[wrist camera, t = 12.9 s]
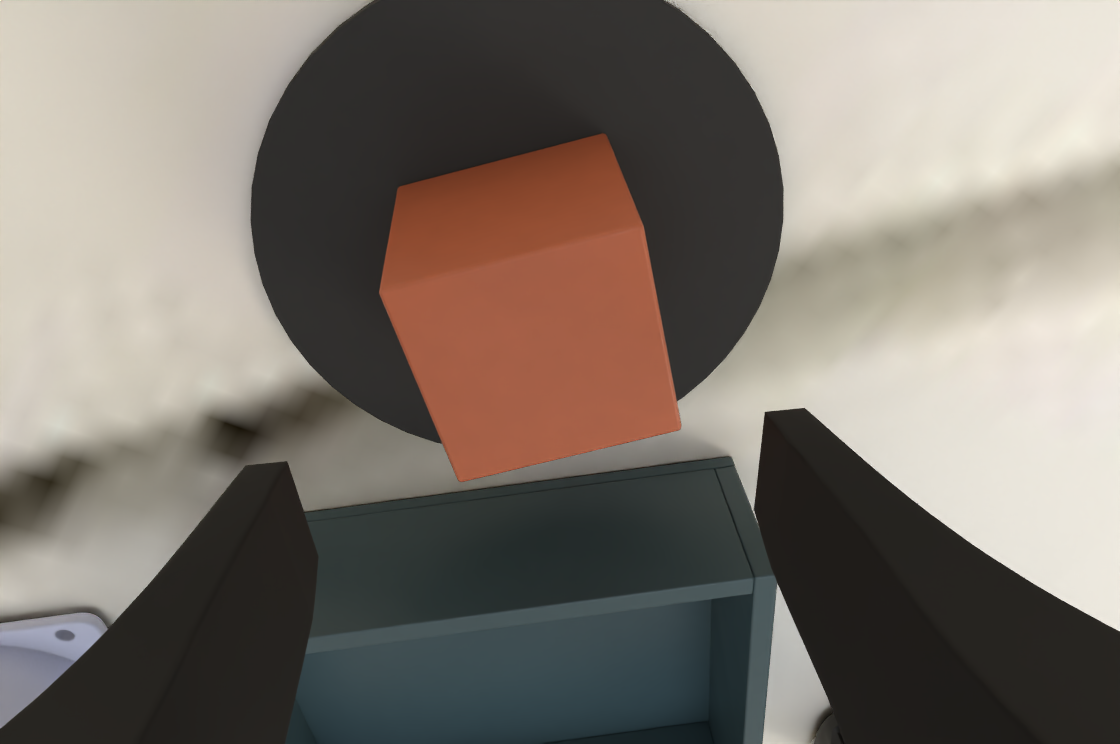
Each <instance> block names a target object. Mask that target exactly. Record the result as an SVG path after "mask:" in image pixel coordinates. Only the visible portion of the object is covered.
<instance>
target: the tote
mask: <svg viewBox="0 0 1120 744" xmlns="http://www.w3.org/2000/svg"><path fill="white" fill-rule="evenodd" d="M304 514H305V517H306V520H307V523H308V526H309V529H310V532H311V535H312V538H313V541H314V544H315V547H316V550H317V553H318V556H319V558H318V570H317V582H316V594H315V603H314V613H313V621H312V625H311V630H310V635H309V639H308V644H307V648H306V653H305V658H304V662H303V667H302V671H301V675H300V680H299V684H298V689H297V693H296V697H295V702H294V706H293V710H292V715H291V719H290V724H289V728H288V732H287V737H286V741H285V744H762V740H763V730H764V719H765V708H766V697H767V686H768V676H769V665H770V654H771V643H772V632H773V622H774V611H775V600H776V589H777V581H776V578H775V576H774V573H773V571H772V569H771V566H770V562H769V559H768V556H767V552H766V549H765V546H764V543H763V539H762V536H761V532H760V528H759V526H758V523H757V521H756V518H755V516H754V513H753V511H752V508H751V506H750V503H749V501H748V498H747V496H746V493H745V491H744V488H743V486H742V483H741V481H740V478H739V476H738V473H737V470H736V468H735V465H734V462H733V460H732V458H731V457H724V458H717V459H709V460H701V461H694V462H686V463H679V464H671V465H663V466H656V467H648V468H641V469H633V470H625V471H618V472H610V473H602V474H595V475H587V476H580V477H572V478H564V479H557V480H549V481H542V482H534V483H526V484H519V485H511V486H504V487H496V488H488V489H481V490H473V491H466V492H458V493H450V494H443V495H435V496H428V497H420V498H412V499H405V500H397V501H390V502H382V503H374V504H367V505H359V506H352V507H344V508H336V509H329V510H321V511H314V512H306V513H304Z"/></svg>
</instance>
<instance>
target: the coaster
mask: <svg viewBox="0 0 1120 744" xmlns="http://www.w3.org/2000/svg"><path fill="white" fill-rule="evenodd" d="M602 133H603V134H606V136H607V137H608V140H609V142H610V145H611V147H612V150H613V152H614V155H615V157H616V160H617V162H618V164H619V167H620V169H621V172H622V174H623V177H624V179H625V182H626V184H627V187H628V189H629V192H630V194H631V196H632V199H633V201H634V204H635V206H636V209H637V211H638V214H639V216H640V219H641V221H642V224H643V226H644V231H645V236H646V241H647V247H648V252H649V257H650V262H651V268H652V273H653V278H654V284H655V289H656V294H657V299H658V305H659V310H660V315H661V320H662V326H663V331H664V336H665V342H666V347H667V352H668V357H669V363H670V368H671V373H672V378H673V384H674V389H675V394H676V400H677V401H678V400H680V399H681V398H683V397H684V396H685V395H686V394H688V393H689V392H690V391H691V390H692V389H694V388H695V387H696V386H697V385H698V384H700V383H701V382H702V381H703V380H704V379H706V378H707V376H708V375H709V374H710V373H711V372H712V371H713V370H714V369H715V368H716V367H717V366H718V365H719V364H720V363H721V362H722V361H723V360H724V359H725V358H726V356H727V355H728V354H729V353H730V351H731V350H732V349H733V347H734V346H735V345H736V343H737V342H738V341H739V339H740V338H741V337H742V335H743V334H744V332H745V331H746V329H747V327H748V326H749V324H750V322H751V320H752V319H753V317H754V315H755V314H756V312H757V310H758V308H759V306H760V304H761V302H762V299H763V297H764V295H765V292H766V290H767V287H768V285H769V283H770V280H771V277H772V273H773V270H774V266H775V263H776V259H777V256H778V252H779V246H780V239H781V232H782V225H783V182H782V175H781V168H780V161H779V155H778V152H777V148H776V145H775V142H774V138H773V135H772V131H771V128H770V125H769V122H768V120H767V118H766V116H765V114H764V112H763V109H762V107H761V105H760V103H759V101H758V99H757V96H756V94H755V92H754V91H753V89H752V88H751V86H750V85H749V83H748V82H747V80H746V79H745V77H744V76H743V74H742V73H741V71H740V70H739V68H738V67H737V65H736V64H735V62H734V61H733V60H732V59H731V58H730V57H729V56H728V55H727V54H726V52H725V51H724V50H723V49H722V48H721V47H720V46H719V45H718V44H717V43H716V41H715V40H714V39H713V38H712V37H711V36H710V35H709V34H708V33H707V32H706V31H705V30H703V29H702V28H701V27H700V26H699V25H697V24H696V23H695V22H694V21H692V20H691V19H690V18H689V17H688V16H686V15H685V14H684V13H683V12H682V11H680V10H679V9H678V8H676V7H674V6H673V5H671V4H669V3H668V2H666V1H664V0H374V1H372V2H371V3H369V4H368V5H367V6H365V7H364V8H363V9H361V10H360V11H359V12H357V13H356V14H354V15H353V16H352V17H350V18H349V19H348V20H346V21H345V22H343V23H342V24H341V25H339V26H338V27H337V28H336V29H335V30H334V31H333V32H332V33H331V34H330V35H329V36H328V37H327V38H326V39H325V40H324V41H323V42H322V43H321V44H320V45H319V46H318V47H317V48H316V49H315V50H314V51H313V52H312V53H311V55H310V56H309V57H308V59H307V60H306V61H305V63H304V64H303V65H302V67H301V68H300V69H299V71H298V72H297V74H296V75H295V76H294V78H293V79H292V80H291V82H290V83H289V85H288V86H287V88H286V90H285V92H284V94H283V96H282V97H281V99H280V101H279V103H278V105H277V107H276V109H275V111H274V113H273V114H272V116H271V118H270V120H269V123H268V126H267V129H266V132H265V135H264V138H263V141H262V143H261V146H260V149H259V152H258V156H257V162H256V167H255V173H254V178H253V184H252V197H251V228H252V236H253V244H254V253H255V257H256V261H257V265H258V268H259V272H260V276H261V280H262V283H263V286H264V289H265V291H266V293H267V296H268V298H269V300H270V303H271V305H272V307H273V310H274V312H275V314H276V316H277V318H278V319H279V321H280V323H281V324H282V326H283V328H284V330H285V331H286V333H287V335H288V336H289V338H290V340H291V341H292V343H293V344H294V345H295V346H296V348H297V349H298V350H299V351H300V353H301V354H302V355H303V357H304V358H305V359H306V360H307V362H308V363H309V364H310V365H311V366H312V367H313V368H314V369H315V370H316V371H317V372H318V373H319V374H320V375H321V376H322V377H323V378H324V379H325V380H326V381H327V382H328V383H329V384H330V385H331V386H332V387H333V388H334V389H336V390H337V391H338V392H340V393H341V394H342V395H343V396H345V397H346V398H347V399H349V400H350V401H351V402H352V403H354V404H355V405H357V406H358V407H360V408H361V409H363V410H365V411H366V412H368V413H370V414H371V415H373V416H375V417H376V418H378V419H380V420H381V421H384V422H386V423H388V424H390V425H392V426H394V427H396V428H399V429H401V430H403V431H405V432H407V433H410V434H413V435H416V436H419V437H422V438H425V439H428V440H431V441H434V442H437V443H441V444H442V441H441V439H440V436H439V434H438V432H437V429H436V427H435V425H434V422H433V420H432V418H431V415H430V413H429V410H428V408H427V406H426V403H425V401H424V399H423V396H422V394H421V391H420V389H419V387H418V384H417V382H416V380H415V377H414V375H413V372H412V370H411V368H410V365H409V363H408V361H407V358H406V356H405V353H404V351H403V349H402V346H401V344H400V342H399V339H398V337H397V334H396V332H395V330H394V327H393V325H392V323H391V320H390V318H389V315H388V313H387V311H386V308H385V306H384V304H383V301H382V299H381V296H380V294H379V290H380V284H381V279H382V273H383V267H384V262H385V256H386V251H387V245H388V240H389V234H390V228H391V223H392V217H393V212H394V206H395V201H396V195H397V189H398V188H399V187H400V186H403V185H407V184H411V183H415V182H419V181H422V180H426V179H430V178H434V177H438V176H441V175H445V174H449V173H453V172H457V171H461V170H464V169H468V168H472V167H476V166H480V165H484V164H487V163H491V162H495V161H499V160H503V159H506V158H510V157H514V156H518V155H522V154H526V153H529V152H533V151H537V150H541V149H545V148H549V147H552V146H556V145H560V144H564V143H568V142H571V141H575V140H579V139H583V138H587V137H591V136H594V135H598V134H602Z"/></svg>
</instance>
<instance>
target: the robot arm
mask: <svg viewBox="0 0 1120 744" xmlns="http://www.w3.org/2000/svg"><path fill="white" fill-rule="evenodd" d="M754 511H755V514H756V518H757V521H758V525H759V528H760V532H761V536H762V539H763V543H764V546H765V549H766V552H767V556H768V559H769V562H770V566H771V569H772V571H773V573H774V576H775V578H776V581H777V583H778V585H779V588H780V590H781V592H782V595H783V597H784V599H785V601H786V604H787V606H788V608H789V611H790V613H791V615H792V618H793V620H794V622H795V624H796V627H797V629H798V631H799V634H800V636H801V638H802V640H803V643H804V645H805V647H806V649H807V652H808V654H809V656H810V659H811V661H812V663H813V665H814V668H815V670H816V672H817V674H818V677H819V679H820V681H821V684H822V686H823V688H824V690H825V693H826V695H827V697H828V700H829V702H830V705H831V708H832V710H833V713H834V715H835V718H836V720H837V723H838V726H839V728H840V731H841V735H842V738H843V741H844V744H1120V631H1118V630H1116V629H1114V628H1112V627H1110V626H1108V625H1106V624H1104V623H1102V622H1101V621H1099V620H1097V619H1095V618H1093V617H1091V616H1090V615H1088V614H1086V613H1084V612H1082V611H1080V610H1079V609H1077V608H1075V607H1073V606H1071V605H1069V604H1067V603H1066V602H1064V601H1062V600H1060V599H1058V598H1057V597H1055V596H1053V595H1052V594H1050V593H1048V592H1046V591H1045V590H1043V589H1041V588H1040V587H1038V586H1036V585H1035V584H1033V583H1031V582H1030V581H1028V580H1026V579H1025V578H1023V577H1022V576H1020V575H1019V574H1017V573H1015V572H1014V571H1012V570H1011V569H1009V568H1008V567H1006V566H1004V565H1003V564H1001V563H1000V562H998V561H996V560H995V559H993V558H992V557H990V556H989V555H987V554H986V553H984V552H983V551H981V550H980V549H978V548H977V547H975V546H974V545H972V544H971V543H969V542H968V541H967V540H965V539H964V538H962V537H961V536H960V535H958V534H957V533H956V532H954V531H953V530H951V529H950V528H949V527H947V526H946V525H945V524H943V523H942V522H940V521H939V520H938V519H936V518H935V517H934V516H932V515H931V514H930V513H928V512H927V511H926V510H924V509H923V508H922V507H921V506H919V505H918V504H917V503H915V502H914V501H913V500H912V499H910V498H909V497H908V496H906V495H905V494H904V493H903V492H902V491H900V490H899V489H898V488H897V487H895V486H894V485H893V484H892V483H891V482H889V481H888V480H887V479H886V478H884V477H883V476H882V475H881V474H880V473H878V472H877V471H876V470H875V469H874V468H873V467H871V466H870V465H869V464H868V463H867V462H866V461H864V460H863V459H862V458H861V457H860V456H859V455H858V454H856V453H855V452H854V451H853V450H852V449H851V448H849V447H848V446H847V445H846V444H845V443H844V442H843V441H842V440H840V439H839V438H838V437H837V436H836V435H835V434H834V433H832V432H831V431H830V430H829V429H828V428H827V427H826V426H825V425H823V424H822V423H821V422H820V421H819V420H818V419H817V418H815V417H814V416H813V415H812V414H811V413H810V412H809V411H807V410H806V409H805V408H800V409H790V410H780V411H770V412H765V416H764V425H763V434H762V443H761V452H760V461H759V470H758V479H757V488H756V497H755V506H754ZM318 558H319V556H318V553H317V550H316V547H315V544H314V541H313V538H312V535H311V532H310V529H309V526H308V523H307V520H306V517H305V514H304V511H303V508H302V505H301V502H300V499H299V496H298V493H297V490H296V487H295V484H294V481H293V478H292V474H291V471H290V468H289V465H288V462H287V461H285V462H276V463H266V464H256V465H247V466H245V467H244V468H243V470H242V471H241V472H240V473H239V474H238V476H237V477H236V478H235V479H234V480H233V482H232V483H231V484H230V485H229V487H228V488H227V489H226V490H225V492H224V493H223V494H222V495H221V497H220V498H219V499H218V500H217V502H216V503H215V504H214V506H213V507H212V508H211V509H210V511H209V512H208V513H207V514H206V516H205V517H204V518H203V519H202V521H201V522H200V523H199V524H198V526H197V527H196V528H195V529H194V531H193V532H192V533H191V534H190V536H189V537H188V538H187V539H186V541H185V542H184V543H183V544H182V545H181V547H180V548H179V549H178V550H177V551H176V553H175V554H174V555H173V556H172V557H171V559H170V560H169V561H168V562H167V563H166V565H165V566H164V567H163V568H162V569H161V571H160V572H159V573H158V574H157V575H156V577H155V578H154V579H153V580H152V581H151V582H150V583H149V585H148V586H147V587H146V588H145V589H144V590H143V591H142V592H141V593H140V595H139V596H138V597H137V598H136V599H135V600H134V601H133V602H132V603H131V604H130V606H129V607H128V608H127V609H126V610H125V611H124V612H123V613H122V614H121V615H120V617H119V618H118V619H117V620H116V621H115V622H114V623H113V624H112V625H111V626H110V628H109V629H108V628H107V627H106V625H105V624H104V622H103V621H102V620H101V619H100V618H99V617H98V616H96V615H94V614H91V613H73V614H66V615H58V616H51V617H43V618H36V619H28V620H21V621H13V622H6V623H0V744H285V741H286V737H287V732H288V728H289V724H290V719H291V715H292V710H293V706H294V702H295V697H296V693H297V689H298V684H299V680H300V675H301V671H302V667H303V662H304V658H305V653H306V648H307V644H308V639H309V635H310V630H311V625H312V621H313V613H314V603H315V594H316V582H317V570H318Z"/></svg>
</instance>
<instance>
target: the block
mask: <svg viewBox="0 0 1120 744" xmlns="http://www.w3.org/2000/svg"><path fill="white" fill-rule="evenodd" d="M379 294H380V296H381V299H382V301H383V304H384V306H385V308H386V311H387V313H388V315H389V318H390V320H391V323H392V325H393V327H394V330H395V332H396V334H397V337H398V339H399V342H400V344H401V346H402V349H403V351H404V353H405V356H406V358H407V361H408V363H409V365H410V368H411V370H412V372H413V375H414V377H415V380H416V382H417V384H418V387H419V389H420V391H421V394H422V396H423V399H424V401H425V403H426V406H427V408H428V410H429V413H430V415H431V418H432V420H433V422H434V425H435V427H436V429H437V432H438V434H439V436H440V439H441V441H442V444H443V446H444V448H445V451H446V453H447V455H448V458H449V460H450V463H451V465H452V467H453V470H454V472H455V474H456V477H457V479H458V481H460V482H464V481H468V480H472V479H477V478H481V477H485V476H489V475H493V474H498V473H502V472H506V471H510V470H514V469H519V468H523V467H527V466H531V465H535V464H540V463H544V462H548V461H552V460H556V459H561V458H565V457H569V456H573V455H577V454H581V453H586V452H590V451H594V450H598V449H602V448H607V447H611V446H615V445H619V444H623V443H628V442H632V441H636V440H640V439H644V438H649V437H653V436H657V435H661V434H665V433H670V432H674V431H678V430H680V429H681V421H680V415H679V410H678V405H677V400H676V394H675V389H674V384H673V378H672V373H671V368H670V363H669V357H668V352H667V347H666V342H665V336H664V331H663V326H662V320H661V315H660V310H659V305H658V299H657V294H656V289H655V284H654V278H653V273H652V268H651V262H650V257H649V252H648V247H647V241H646V236H645V231H644V226H643V224H642V221H641V219H640V216H639V214H638V211H637V209H636V206H635V204H634V201H633V199H632V196H631V194H630V192H629V189H628V187H627V184H626V182H625V179H624V177H623V174H622V172H621V169H620V167H619V164H618V162H617V160H616V157H615V155H614V152H613V150H612V147H611V145H610V142H609V140H608V137H607V136H606V134H603V133H602V134H598V135H594V136H591V137H587V138H583V139H579V140H575V141H571V142H568V143H564V144H560V145H556V146H552V147H549V148H545V149H541V150H537V151H533V152H529V153H526V154H522V155H518V156H514V157H510V158H506V159H503V160H499V161H495V162H491V163H487V164H484V165H480V166H476V167H472V168H468V169H464V170H461V171H457V172H453V173H449V174H445V175H441V176H438V177H434V178H430V179H426V180H422V181H419V182H415V183H411V184H407V185H403V186H400V187H399V188H398V189H397V195H396V201H395V206H394V212H393V217H392V223H391V228H390V234H389V240H388V245H387V251H386V256H385V262H384V267H383V273H382V279H381V284H380V290H379Z"/></svg>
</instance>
